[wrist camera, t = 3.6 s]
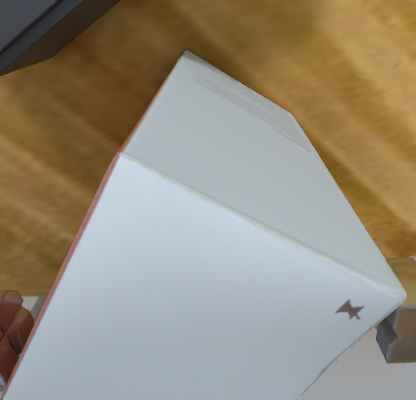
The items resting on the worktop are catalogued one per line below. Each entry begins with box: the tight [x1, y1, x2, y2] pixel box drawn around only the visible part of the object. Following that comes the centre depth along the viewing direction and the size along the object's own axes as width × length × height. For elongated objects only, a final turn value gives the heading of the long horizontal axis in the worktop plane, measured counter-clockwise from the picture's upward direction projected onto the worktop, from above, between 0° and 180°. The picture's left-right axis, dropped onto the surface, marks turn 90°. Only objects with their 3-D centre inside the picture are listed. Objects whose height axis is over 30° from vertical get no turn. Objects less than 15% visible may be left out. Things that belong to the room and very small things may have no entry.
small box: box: [0, 50, 407, 400], centre depth 14 cm, size 8×6×13 cm
